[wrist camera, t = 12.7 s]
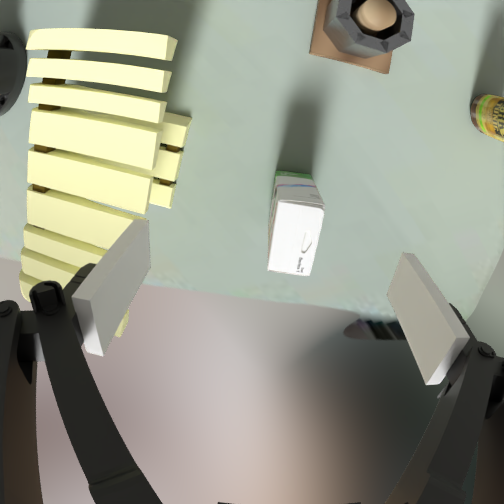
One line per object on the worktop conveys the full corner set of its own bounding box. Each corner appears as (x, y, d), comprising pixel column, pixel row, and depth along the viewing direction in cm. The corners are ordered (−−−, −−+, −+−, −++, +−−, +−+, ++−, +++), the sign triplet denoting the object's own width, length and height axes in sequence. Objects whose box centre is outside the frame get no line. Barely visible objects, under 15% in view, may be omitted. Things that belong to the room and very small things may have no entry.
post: (309, 54, 34) (322, 42, 25) (320, -14, 29) (336, -42, 20) (384, 73, 34) (418, 72, 25) (394, 8, 29) (429, -10, 20)
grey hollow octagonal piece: (319, 47, 32) (332, 37, 25) (329, -9, 28) (342, -29, 21) (382, 64, 32) (407, 60, 25) (390, 10, 29) (416, -4, 22)
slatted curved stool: (99, 41, 33) (15, 30, 17) (209, 56, 35) (167, 35, 19) (73, 231, 47) (10, 293, 32) (162, 258, 49) (120, 337, 33)
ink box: (275, 169, 41) (277, 198, 31) (312, 174, 42) (327, 205, 31) (266, 228, 46) (265, 273, 35) (301, 232, 46) (310, 278, 35)
